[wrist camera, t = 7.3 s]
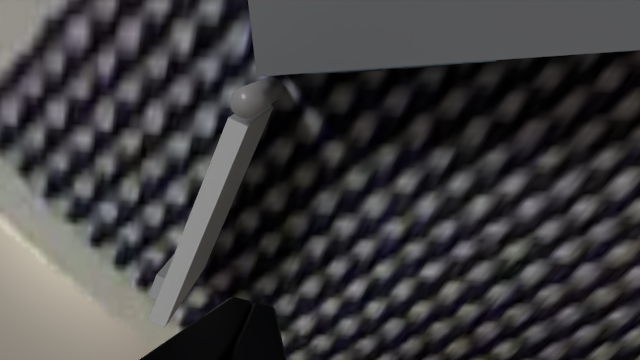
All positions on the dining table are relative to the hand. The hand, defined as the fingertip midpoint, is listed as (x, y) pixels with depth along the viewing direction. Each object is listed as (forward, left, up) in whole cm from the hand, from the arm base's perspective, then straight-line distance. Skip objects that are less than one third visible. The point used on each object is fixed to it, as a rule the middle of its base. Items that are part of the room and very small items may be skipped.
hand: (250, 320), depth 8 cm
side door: (+4, +1, -11) cm, 12 cm away
